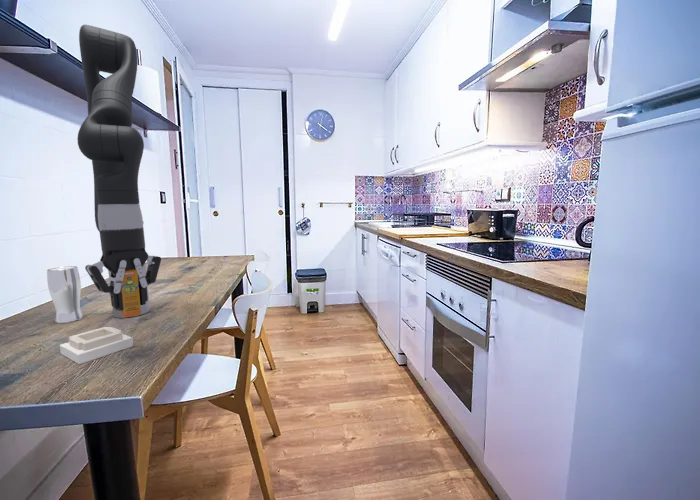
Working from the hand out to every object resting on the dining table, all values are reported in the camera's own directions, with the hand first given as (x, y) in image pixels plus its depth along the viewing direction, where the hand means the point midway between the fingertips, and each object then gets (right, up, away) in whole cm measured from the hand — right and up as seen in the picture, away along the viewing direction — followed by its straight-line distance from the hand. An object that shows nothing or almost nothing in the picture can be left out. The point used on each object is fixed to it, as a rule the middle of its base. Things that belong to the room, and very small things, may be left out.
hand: (130, 306), depth 70 cm
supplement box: (0, -2, 0) cm, 2 cm away
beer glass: (-33, -8, +24) cm, 42 cm away
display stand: (-9, -10, +3) cm, 14 cm away
